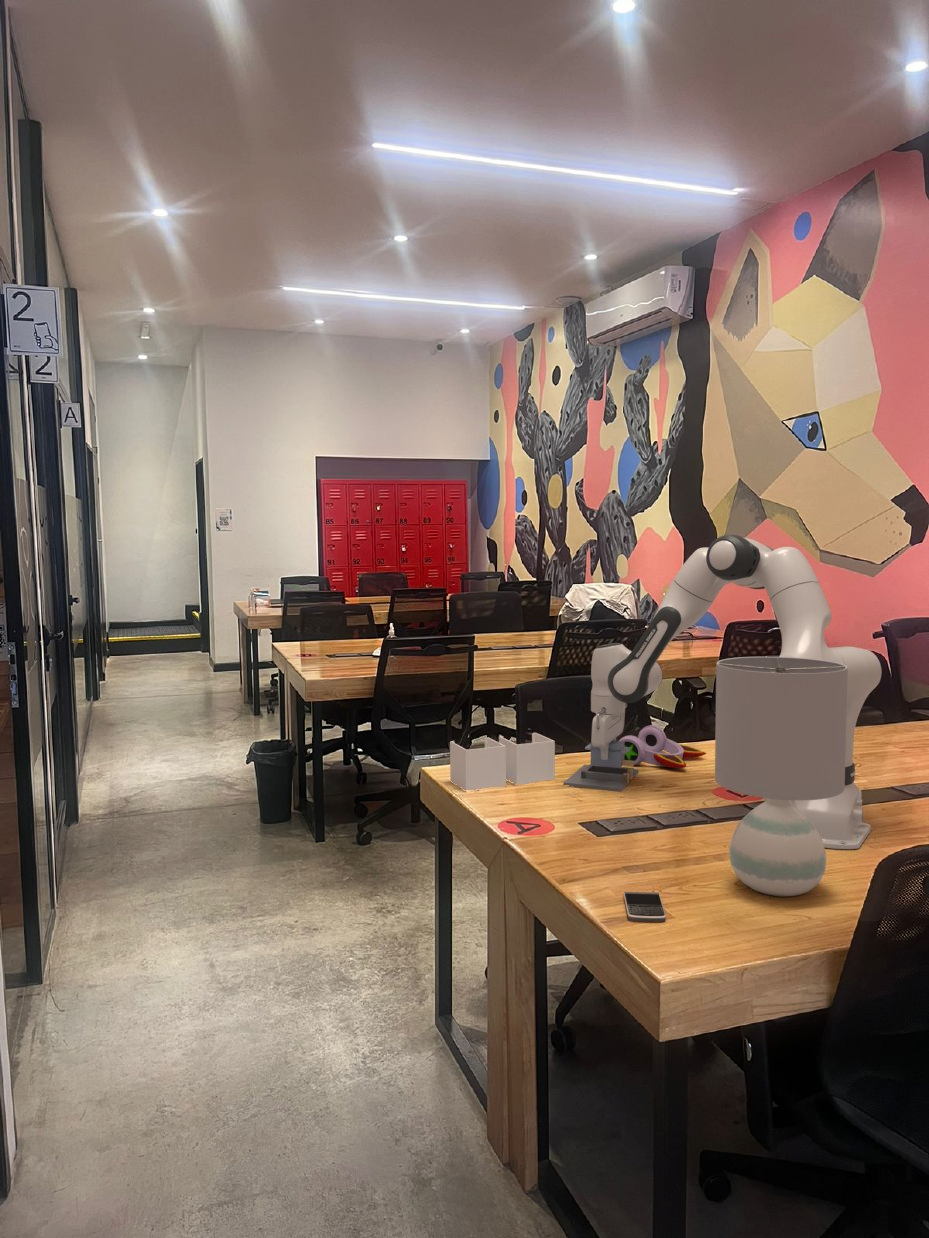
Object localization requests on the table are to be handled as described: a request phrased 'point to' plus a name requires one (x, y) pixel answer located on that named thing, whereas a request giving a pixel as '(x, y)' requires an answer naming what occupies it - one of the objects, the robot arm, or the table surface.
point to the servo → (610, 755)
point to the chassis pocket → (602, 777)
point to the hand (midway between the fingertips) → (607, 756)
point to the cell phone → (644, 907)
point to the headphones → (657, 749)
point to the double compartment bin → (502, 763)
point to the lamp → (780, 762)
